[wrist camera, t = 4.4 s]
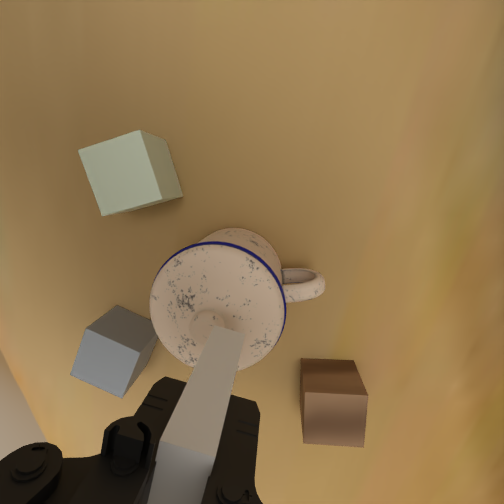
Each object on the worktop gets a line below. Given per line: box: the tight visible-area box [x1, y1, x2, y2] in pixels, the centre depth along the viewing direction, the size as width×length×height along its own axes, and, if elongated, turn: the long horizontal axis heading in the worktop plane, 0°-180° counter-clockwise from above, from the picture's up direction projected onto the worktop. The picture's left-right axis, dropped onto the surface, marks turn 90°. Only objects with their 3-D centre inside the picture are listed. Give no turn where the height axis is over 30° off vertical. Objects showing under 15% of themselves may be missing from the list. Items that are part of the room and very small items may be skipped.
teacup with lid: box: [149, 228, 325, 371], centre depth 22 cm, size 12×9×12 cm
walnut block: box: [300, 358, 368, 448], centre depth 27 cm, size 5×5×5 cm
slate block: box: [70, 305, 158, 398], centre depth 28 cm, size 5×5×5 cm
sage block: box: [78, 130, 183, 216], centre depth 24 cm, size 5×5×5 cm
